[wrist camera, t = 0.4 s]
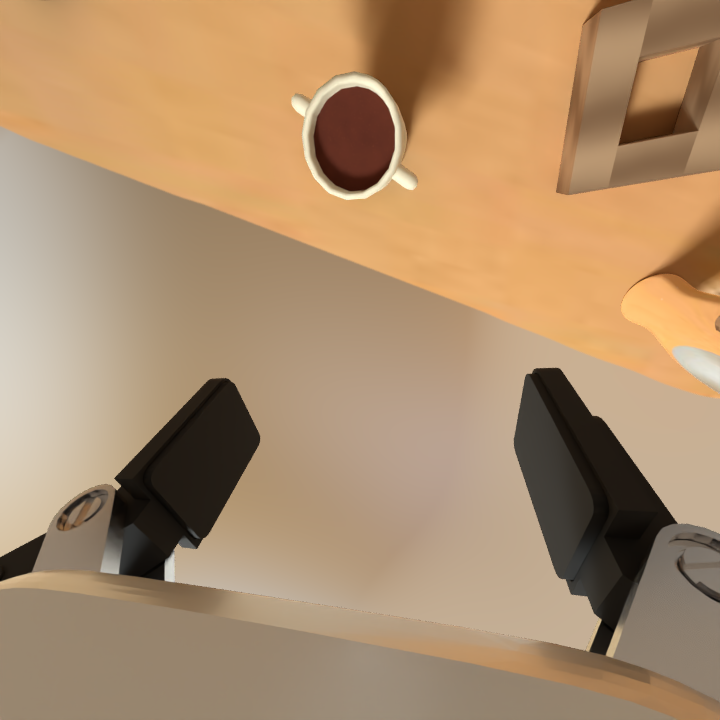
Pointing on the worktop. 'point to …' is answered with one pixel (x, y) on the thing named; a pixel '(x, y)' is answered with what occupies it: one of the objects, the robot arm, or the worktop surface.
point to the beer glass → (679, 323)
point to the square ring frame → (613, 88)
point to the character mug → (354, 136)
